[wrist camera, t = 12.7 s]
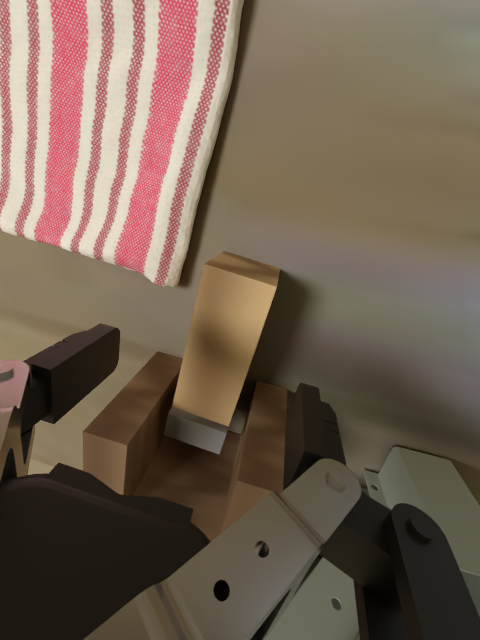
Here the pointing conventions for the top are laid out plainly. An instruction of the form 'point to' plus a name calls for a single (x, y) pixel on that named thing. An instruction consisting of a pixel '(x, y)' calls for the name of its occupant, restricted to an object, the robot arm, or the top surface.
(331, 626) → the bracket
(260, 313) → the tan rectangular block
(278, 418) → the wooden block holder
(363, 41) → the top surface
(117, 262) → the dish towel
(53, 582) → the robot arm
